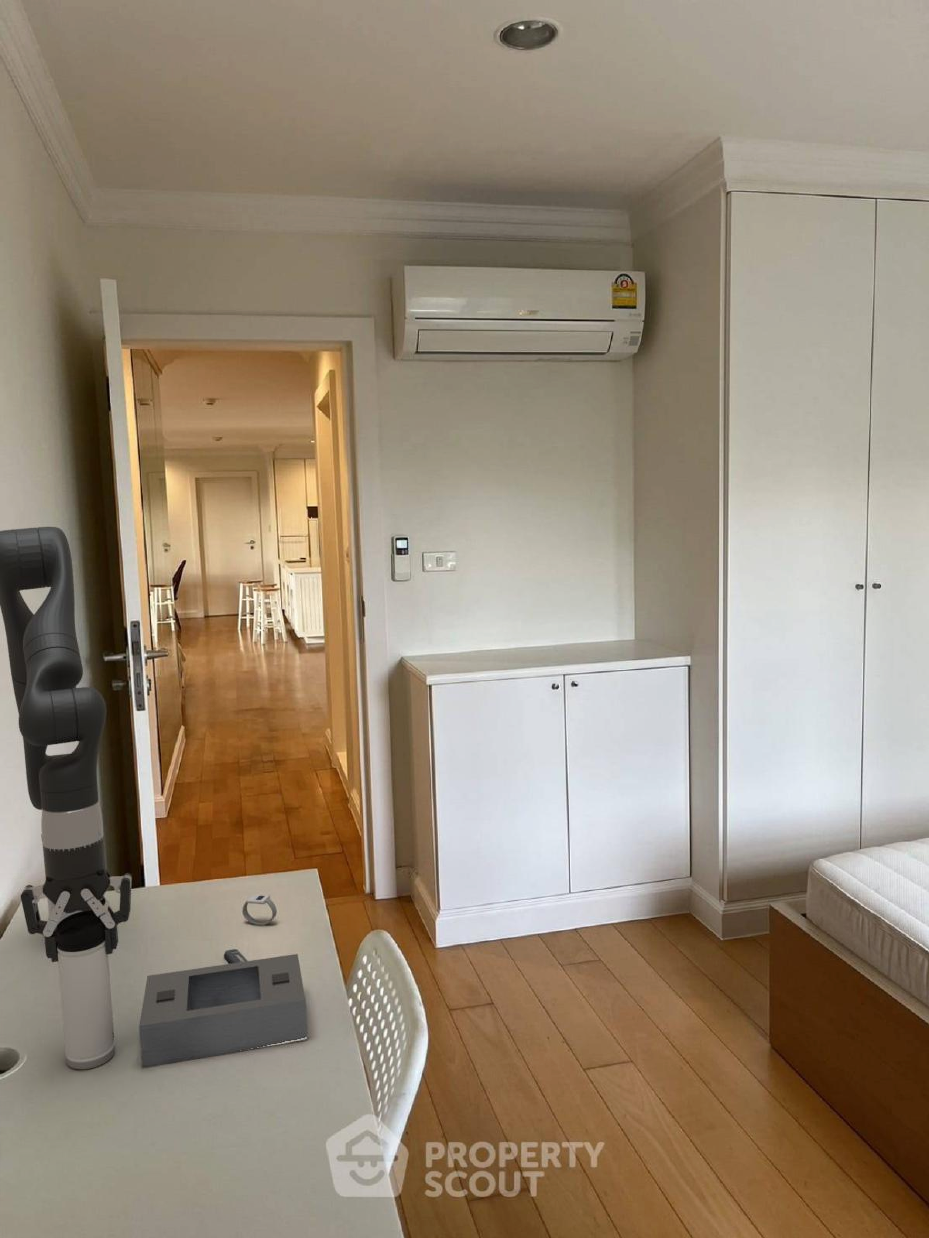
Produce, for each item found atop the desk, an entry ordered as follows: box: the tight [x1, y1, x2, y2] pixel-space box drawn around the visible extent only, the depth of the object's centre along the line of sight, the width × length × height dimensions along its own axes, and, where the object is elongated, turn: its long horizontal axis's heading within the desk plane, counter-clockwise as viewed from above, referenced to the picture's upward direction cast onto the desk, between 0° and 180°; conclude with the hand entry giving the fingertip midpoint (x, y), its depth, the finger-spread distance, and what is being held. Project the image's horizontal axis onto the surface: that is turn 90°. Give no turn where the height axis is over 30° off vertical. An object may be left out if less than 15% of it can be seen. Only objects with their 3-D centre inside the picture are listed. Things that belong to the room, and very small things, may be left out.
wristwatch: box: [242, 893, 277, 926], centre depth 167 cm, size 6×3×5 cm, turn 77°
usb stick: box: [223, 948, 248, 964], centre depth 152 cm, size 10×3×2 cm, turn 34°
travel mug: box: [56, 909, 116, 1070], centre depth 126 cm, size 6×7×20 cm
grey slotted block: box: [138, 953, 308, 1069], centre depth 133 cm, size 14×22×6 cm, turn 104°
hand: (83, 954), depth 126 cm, fingers closed on travel mug, 6 cm apart
